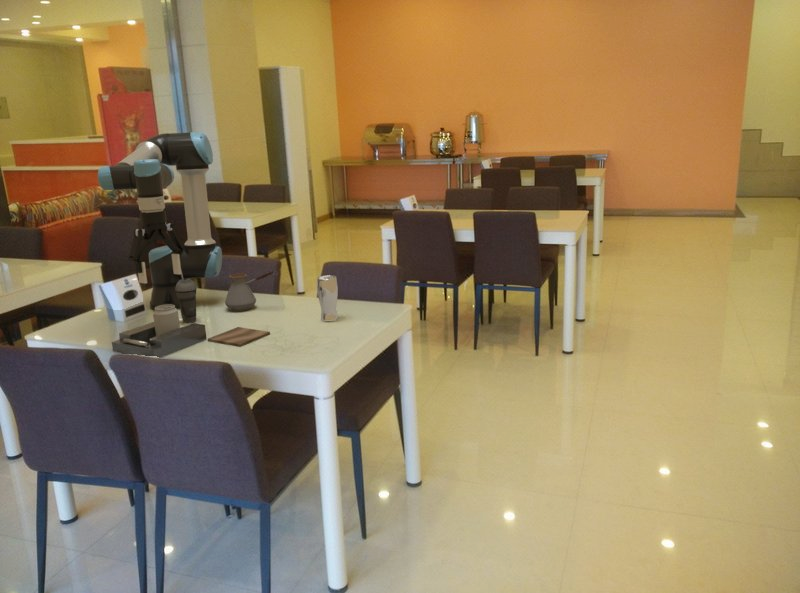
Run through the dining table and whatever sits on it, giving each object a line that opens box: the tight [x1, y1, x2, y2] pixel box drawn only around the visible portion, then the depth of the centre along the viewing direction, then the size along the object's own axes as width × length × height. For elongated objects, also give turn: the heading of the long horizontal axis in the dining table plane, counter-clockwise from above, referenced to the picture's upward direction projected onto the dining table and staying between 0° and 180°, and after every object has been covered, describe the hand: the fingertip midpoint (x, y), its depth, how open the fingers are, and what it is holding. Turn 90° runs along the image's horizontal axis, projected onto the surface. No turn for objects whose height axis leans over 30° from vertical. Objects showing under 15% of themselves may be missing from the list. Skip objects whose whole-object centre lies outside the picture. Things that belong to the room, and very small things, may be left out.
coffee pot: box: [224, 269, 278, 312], centre depth 257 cm, size 21×12×15 cm, turn 76°
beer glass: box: [316, 274, 339, 322], centre depth 240 cm, size 7×7×15 cm
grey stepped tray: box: [111, 321, 208, 358], centre depth 220 cm, size 19×21×5 cm
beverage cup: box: [175, 271, 198, 324], centre depth 243 cm, size 7×7×20 cm
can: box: [152, 304, 181, 336], centre depth 222 cm, size 8×8×12 cm
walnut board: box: [207, 326, 271, 348], centre depth 225 cm, size 14×14×1 cm
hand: (160, 278), depth 218 cm, fingers open, 13 cm apart
